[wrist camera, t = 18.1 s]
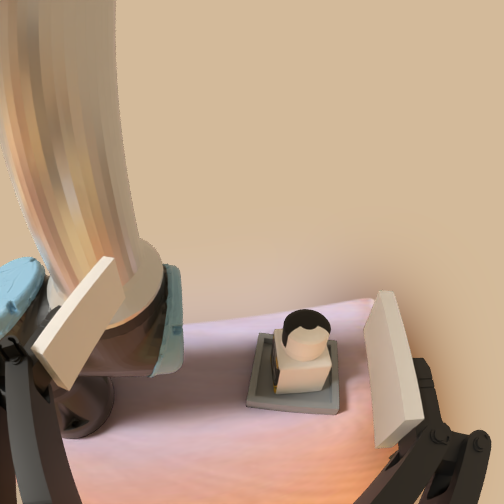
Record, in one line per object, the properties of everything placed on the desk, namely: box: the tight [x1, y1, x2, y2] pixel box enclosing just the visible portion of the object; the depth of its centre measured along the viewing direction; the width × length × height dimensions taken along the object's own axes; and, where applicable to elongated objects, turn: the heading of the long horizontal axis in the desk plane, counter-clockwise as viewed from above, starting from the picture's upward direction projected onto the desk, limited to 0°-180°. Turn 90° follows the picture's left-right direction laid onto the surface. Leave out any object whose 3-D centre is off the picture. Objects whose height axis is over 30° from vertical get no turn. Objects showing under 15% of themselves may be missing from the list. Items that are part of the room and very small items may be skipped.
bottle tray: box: [246, 333, 339, 415], centre depth 43 cm, size 13×13×2 cm
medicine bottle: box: [270, 309, 332, 394], centre depth 39 cm, size 7×7×12 cm
